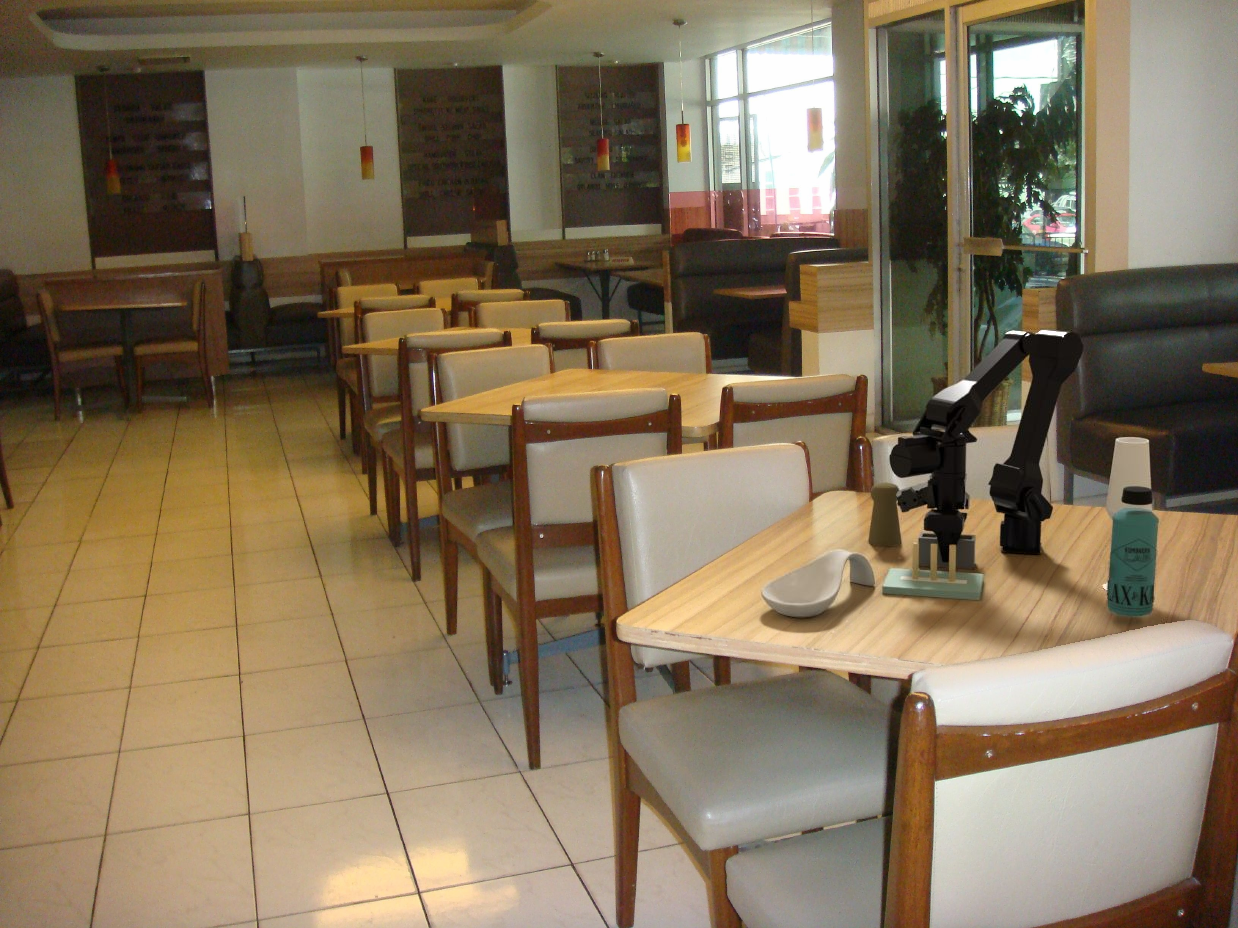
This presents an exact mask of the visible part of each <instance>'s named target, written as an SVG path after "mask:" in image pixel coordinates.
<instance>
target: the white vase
mask: <svg viewBox="0 0 1238 928" xmlns="http://www.w3.org/2000/svg"><path fill="white" fill-rule="evenodd" d="M1150 461H1151V459H1150V440H1149V439H1147V438H1143V437H1133V436H1129V437H1127V436H1126V437H1123V436H1122V437H1118V438H1115V442H1114V450H1113V458H1112V464H1111V471H1110V476H1109V477H1110V478H1109V483H1108V484H1109V485H1108V490H1107V495H1106V497H1107V498H1106V503H1105V511H1106V512H1107V515H1108V516H1109V517H1110V519H1111V520H1112V517H1113V515H1114V514H1115V513H1117V512H1118V511H1119V510H1121V509H1123V508H1143V509H1148V510H1150V511H1152V512H1153V503H1152V504H1149V505H1131V504H1126V503H1123V502H1122V501H1121V499H1122V494H1123V488H1125V487H1129V486H1141V487H1147V488H1150V489H1151V490H1152V480H1151V479H1152V478H1151V462H1150ZM1107 583H1108V582H1106V584H1105V583H1103V584H1102V586H1103V588H1104V589H1105V590H1104V589H1103V588H1102V589H1103V590H1104V591H1106V590H1107Z"/></svg>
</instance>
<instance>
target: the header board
mask: <svg viewBox="0 0 1238 928" xmlns="http://www.w3.org/2000/svg"><path fill="white" fill-rule="evenodd" d="M911 553H912V555H911V556H912V560H911V561H912V562H911V569H909V568H908V569H907V568H896V567H895V568H892V567H890V569H889V570H888V573H887V575H886V577H885V580H884V582H883V584H882V590H881V593H882V594H883V595H884V594H886V595H888V594H889V595H898V596H900V595H901V596H913V597H914V596H915V597H930V598H942V599H943V598H944V599H945V598H946V599H960V600H970V601H980V600H981V596H982V595H981V594H982V589H983V584H984V573H975V572H973V573H972V572H956V568H955V567H956V545H949V568H948V571H943V570H942V571H940V570H938V567H937V544H931V567H930V570H929V569H928V570H925V569H920V568H919V567H920V566H919V543H918V542H913V543H912V551H911Z"/></svg>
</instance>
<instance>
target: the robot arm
mask: <svg viewBox="0 0 1238 928" xmlns="http://www.w3.org/2000/svg"><path fill="white" fill-rule="evenodd" d="M1083 352H1084V343H1083V342H1082V339H1081V337H1080V335H1079V334H1078V333H1076V332H1075V331H1064V330H1056V329H1042V330H1040V331H1039V332H1037V333H1034V332H1032V331H1023V330H1016V329H1013V330H1010V331H1008V332H1006V333H1005V334H1004V335H1003V338H1002V340H1001V341H1000V342H999V343H998V344H997V345H996V346H995V347H994V348H993V349H992V350H991V351H990V352H989V353H988V354H987V355H986V356H985V357H984V358H983V359H982V360H981V361H980V362H979V363H977V365H976V366H975V367H974V369H972V370H971V371H970V372H969V373H968V374H967V375H966V376H965V377H964V378H963V379H962V380H960V381H959V382H958V383H955V384H952V385H951V386H948V387H946V388H943V389H942V390H941V391H939V392H938V393H937V394H935V395H934V396H933V397H931V398H930V399H929V400H928V402H927V404H926V405H925V410H924V412H923V414H922V416H921V417H920V419H919V421H918V422H917V424H916V426H915V428H914V430H913V431H912V435H909V436H906V435H901V436H898V437H897V444H895V445H894V446H893V448H892V449H891V451H890V454H889V459H888V460H889V461H888V462H889V466H890V469H891V471H892V472H893V474H894V475H895V476H896V477H898V478H899V479H905V478H911V477H918V476H922V475H923V476H924V475H929V478H928V479H927V481H925V482H922V483H917V484H915V485H912V486H909V487H904V488H903V489H899V491H898V492H897V494H896V498H897V507H899V508H900V511H901V513H902V514H903V513H908V512H910V511H911V510H913V509H918V508H920V507H924V506H926V509H930V510H929V511H928V512H927V513H926V514H925V515H924V518H923V530H924V531H926V532H931V533H935V534H936V536H937V540H938V545H939V549H940V554H941V558H942V562H949V545H957V543H958V540H959V538H960V536H961V534H963V531H964V528H965V523H966V520H967V517H968V513H967V512H961V511H960V510H969V509H970V507H971V505H970V503H971V502H970V499H971V497H970V494H969V493H968V492H967V491H966V487H967V486H966V485H967V484H966V482H967V475H968V474H967V444H973V443H977V441H978V438H977V437H976V436H975V435H974V434H973V433H971V431H970V428H971V427H972V426H973V424H974V423H975V421H976V420H977V419H978V417H979V416H980V414H981V412H982V407H983V403H984V402H985V400H986V399H987V398H988V397H989V395H991V393H992V392H994V390H996V389H997V388H998V386H999V385H1000V384H1002V382H1003V381H1005V379H1006V378H1007V377H1008V376H1010V374H1011V373H1012V372H1013V371H1014V370H1015V369H1017V368H1018V366H1019V365H1021V364H1022V362H1023V361H1024V360H1025V359H1026V358H1027V357H1028V365H1029V368H1030V372H1031V375H1032V376H1031V381H1030V386H1029V389H1028V393H1027V395H1026V399H1025V404H1024V407H1023V411H1022V413H1021V416H1020V417H1021V418H1020V421H1019V424H1018V429H1017V431H1016V436H1015V438H1014V442H1013V445H1012V448H1011V449H1012V450H1011V452H1010V455H1009V457H1008V458H1007V459H1006V460H1005V461H1004V462H1003V463H999V462H995V464H994V466H993V468H992V476H991V478H990V480H989V481H988V484H987V485H988V486H989V496H990V498H991V500H992V501H993V506H994V508H995V511H996V513H999V514H1003V520H1001V521H1000V524H999V525H1000V526H999V528H1000V529H999V546H1000V547H1001V552H1002V553H1010V554H1012V553H1013V554H1026V555H1029V554H1030V555H1042V542H1041V541H1042V522H1045V521H1046V520H1049V519H1051V518H1052V517H1051V516H1052V513H1053V510H1054V506H1053V505H1052V504H1051V503H1050V502H1049V500H1048V499H1047V498H1046V497H1045V496H1044V495H1043V494H1042V493H1043V492H1042V491H1043V484H1044V479H1043V474H1042V471H1041V467H1040V461H1041V457H1042V455H1043V450H1044V447H1045V444H1046V440H1047V438H1048V437H1047V436H1048V433H1049V429H1050V426H1051V423H1052V419H1053V415H1054V413H1055V408H1056V405H1057V402H1058V399H1059V395H1060V391H1061V388H1062V385H1063V383H1064V382H1066V380H1068V378H1070V376H1071V375H1072V374H1073V373H1074V372H1075V371H1076V369H1077V366H1078V364H1079V362H1080V359H1081V358H1082V355H1083Z"/></svg>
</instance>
